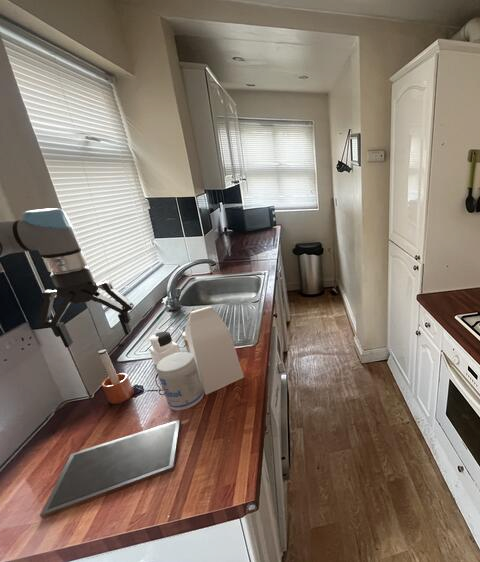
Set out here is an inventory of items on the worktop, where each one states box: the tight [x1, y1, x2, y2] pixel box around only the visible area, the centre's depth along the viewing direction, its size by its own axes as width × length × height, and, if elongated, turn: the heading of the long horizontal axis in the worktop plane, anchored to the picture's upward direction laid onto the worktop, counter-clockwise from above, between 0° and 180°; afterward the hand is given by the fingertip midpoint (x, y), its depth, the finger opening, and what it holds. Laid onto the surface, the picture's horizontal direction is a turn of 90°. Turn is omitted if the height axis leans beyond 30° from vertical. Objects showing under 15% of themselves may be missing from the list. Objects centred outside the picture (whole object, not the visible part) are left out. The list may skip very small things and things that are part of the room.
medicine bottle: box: [148, 331, 181, 367], centre depth 110 cm, size 7×7×12 cm
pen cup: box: [101, 372, 135, 404], centre depth 95 cm, size 6×6×7 cm
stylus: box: [97, 349, 120, 385], centre depth 93 cm, size 2×2×17 cm
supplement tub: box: [156, 351, 205, 411], centre depth 92 cm, size 10×10×15 cm
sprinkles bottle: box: [181, 331, 190, 353], centre depth 109 cm, size 5×5×13 cm
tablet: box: [39, 419, 182, 520], centre depth 75 cm, size 24×16×1 cm, turn 115°
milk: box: [184, 305, 245, 396], centre depth 99 cm, size 12×12×26 cm
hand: (99, 338), depth 88 cm, fingers open, 13 cm apart
